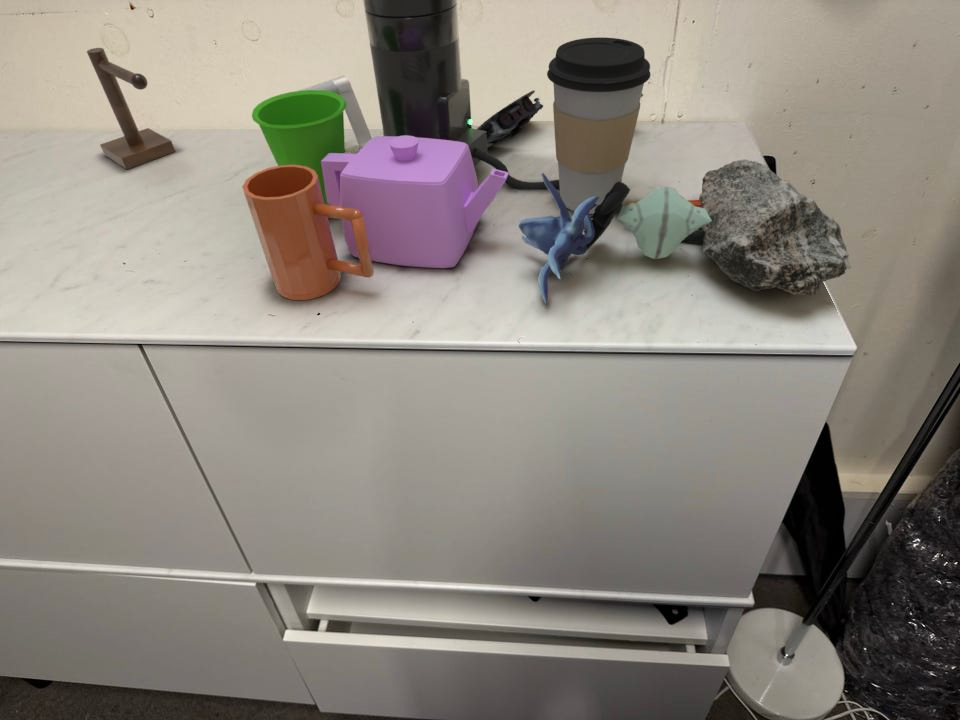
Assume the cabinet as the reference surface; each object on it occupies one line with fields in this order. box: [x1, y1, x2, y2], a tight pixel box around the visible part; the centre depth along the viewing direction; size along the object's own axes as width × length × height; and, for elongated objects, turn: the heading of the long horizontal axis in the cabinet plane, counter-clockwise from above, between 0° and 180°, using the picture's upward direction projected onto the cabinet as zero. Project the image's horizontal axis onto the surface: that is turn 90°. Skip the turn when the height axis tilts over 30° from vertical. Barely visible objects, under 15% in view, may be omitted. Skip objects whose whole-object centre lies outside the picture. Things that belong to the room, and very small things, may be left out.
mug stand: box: [86, 47, 176, 170], centre depth 74 cm, size 14×6×12 cm, turn 47°
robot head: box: [616, 186, 712, 260], centre depth 55 cm, size 8×4×7 cm, turn 82°
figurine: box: [518, 172, 631, 305], centre depth 54 cm, size 10×12×8 cm
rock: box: [698, 159, 852, 296], centre depth 55 cm, size 18×10×10 cm
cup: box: [251, 90, 346, 220], centre depth 64 cm, size 9×9×11 cm
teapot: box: [321, 135, 510, 269], centre depth 58 cm, size 18×10×10 cm, turn 75°
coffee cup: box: [546, 36, 652, 215], centre depth 61 cm, size 9×9×15 cm
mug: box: [242, 165, 375, 301], centre depth 53 cm, size 10×6×10 cm, turn 68°
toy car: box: [476, 89, 544, 148], centre depth 78 cm, size 8×12×3 cm
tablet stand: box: [298, 75, 373, 154], centre depth 73 cm, size 9×8×8 cm
